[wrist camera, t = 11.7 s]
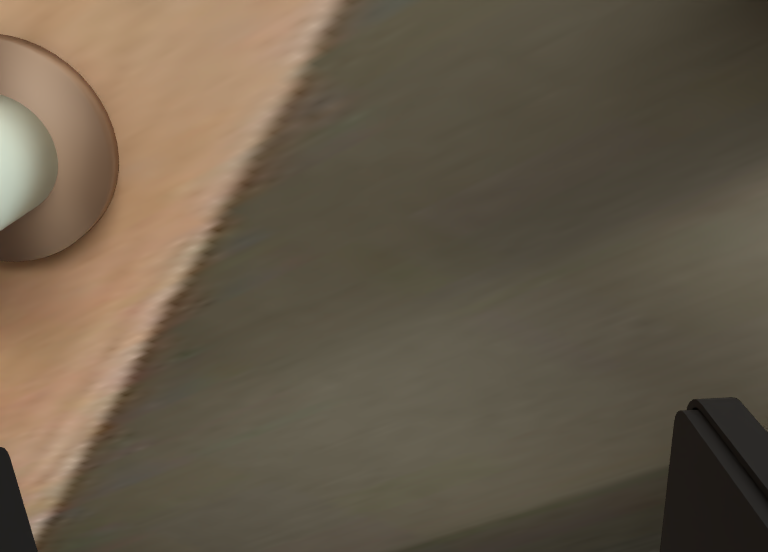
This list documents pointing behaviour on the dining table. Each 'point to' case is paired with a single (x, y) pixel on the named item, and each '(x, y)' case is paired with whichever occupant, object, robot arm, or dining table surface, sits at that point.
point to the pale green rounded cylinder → (23, 161)
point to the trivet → (59, 150)
